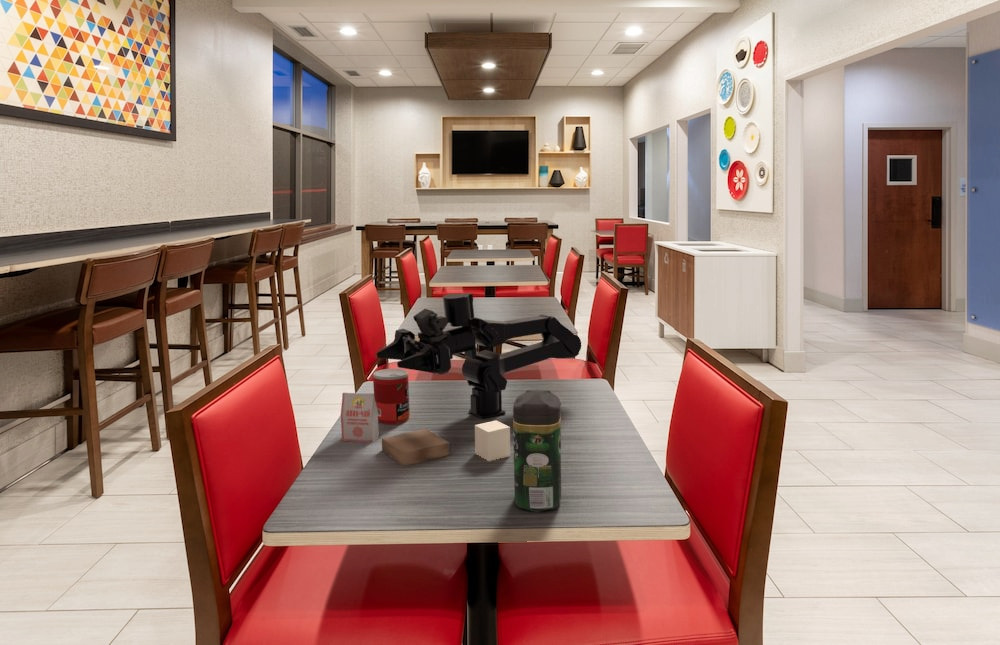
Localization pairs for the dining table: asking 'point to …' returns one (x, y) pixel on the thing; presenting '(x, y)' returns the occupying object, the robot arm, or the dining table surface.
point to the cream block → (492, 440)
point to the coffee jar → (537, 450)
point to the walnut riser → (415, 446)
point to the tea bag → (359, 417)
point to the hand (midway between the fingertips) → (386, 359)
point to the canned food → (391, 395)
